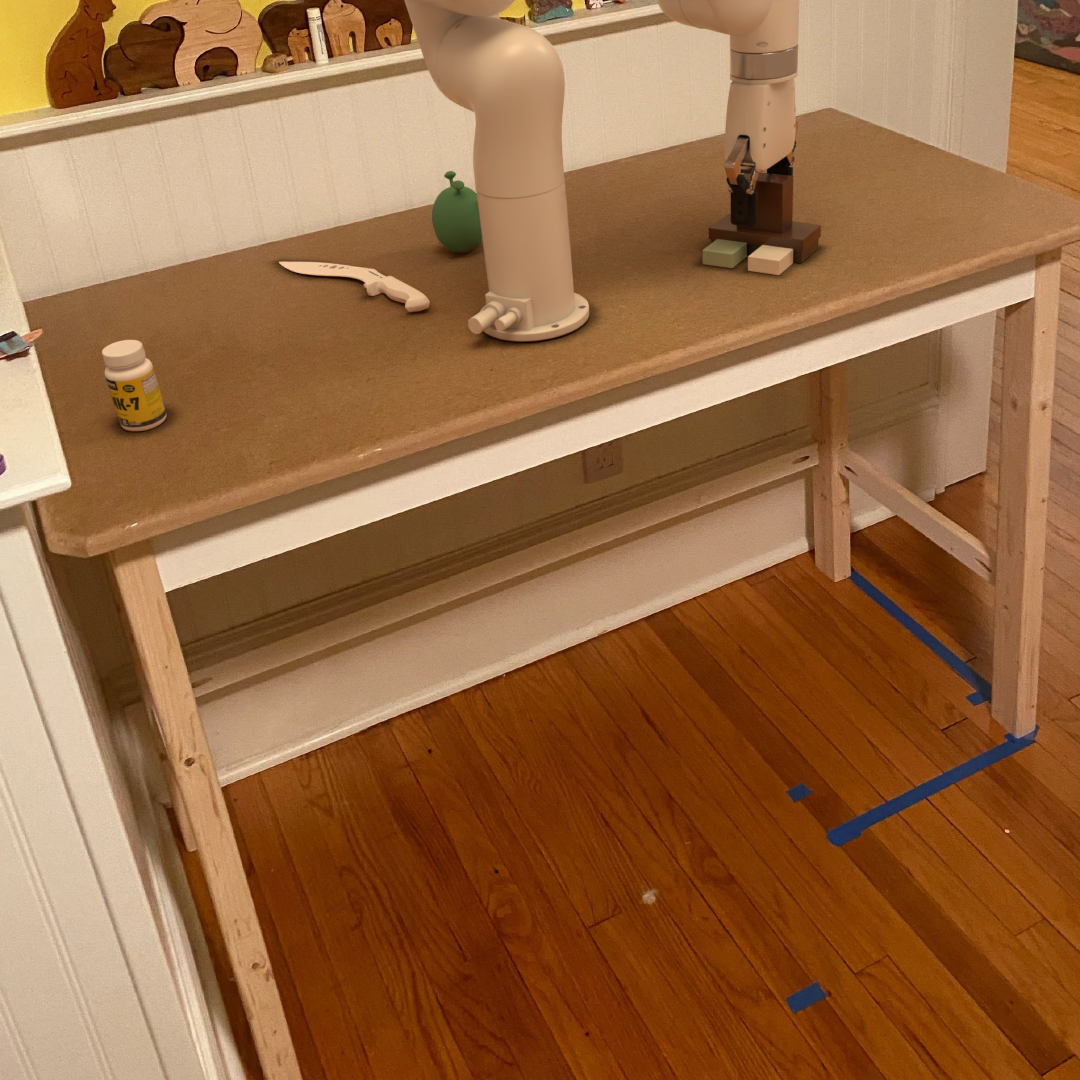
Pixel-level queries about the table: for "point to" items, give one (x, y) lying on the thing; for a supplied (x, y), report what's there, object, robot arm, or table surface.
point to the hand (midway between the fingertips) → (761, 211)
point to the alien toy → (457, 217)
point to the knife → (371, 277)
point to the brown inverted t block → (772, 221)
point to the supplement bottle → (133, 386)
